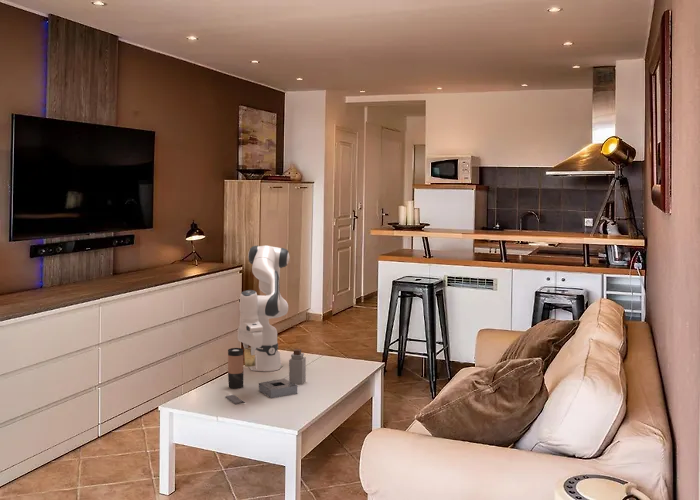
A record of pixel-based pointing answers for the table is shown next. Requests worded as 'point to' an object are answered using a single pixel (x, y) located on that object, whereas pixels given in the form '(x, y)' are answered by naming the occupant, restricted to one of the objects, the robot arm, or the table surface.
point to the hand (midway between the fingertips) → (249, 353)
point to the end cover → (249, 358)
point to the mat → (234, 399)
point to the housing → (278, 388)
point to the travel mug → (235, 368)
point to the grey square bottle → (297, 367)
